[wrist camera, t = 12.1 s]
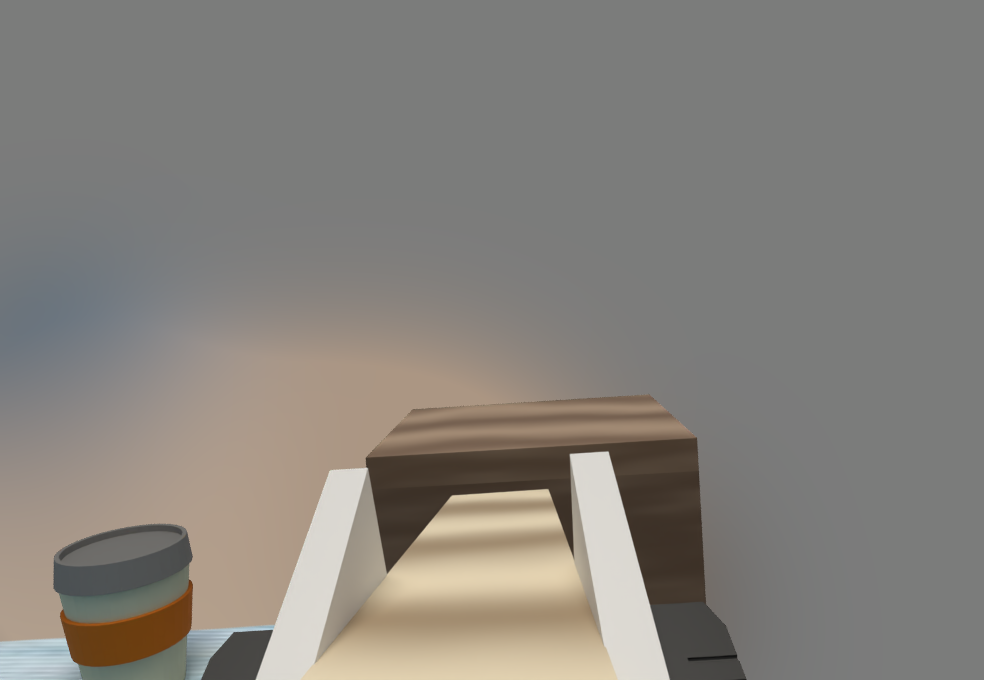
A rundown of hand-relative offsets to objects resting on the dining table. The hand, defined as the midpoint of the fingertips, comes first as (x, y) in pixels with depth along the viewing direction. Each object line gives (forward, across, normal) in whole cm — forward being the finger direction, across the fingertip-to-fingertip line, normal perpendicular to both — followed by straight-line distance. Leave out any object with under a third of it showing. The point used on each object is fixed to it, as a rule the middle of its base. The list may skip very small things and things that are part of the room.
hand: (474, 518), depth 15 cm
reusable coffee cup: (+41, -40, -50) cm, 76 cm away
